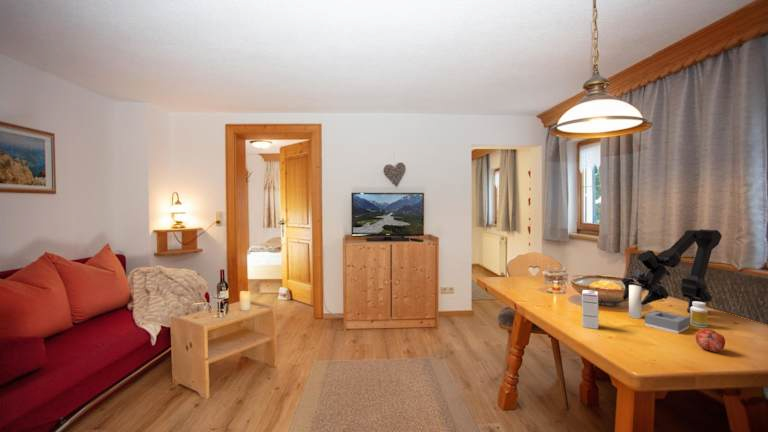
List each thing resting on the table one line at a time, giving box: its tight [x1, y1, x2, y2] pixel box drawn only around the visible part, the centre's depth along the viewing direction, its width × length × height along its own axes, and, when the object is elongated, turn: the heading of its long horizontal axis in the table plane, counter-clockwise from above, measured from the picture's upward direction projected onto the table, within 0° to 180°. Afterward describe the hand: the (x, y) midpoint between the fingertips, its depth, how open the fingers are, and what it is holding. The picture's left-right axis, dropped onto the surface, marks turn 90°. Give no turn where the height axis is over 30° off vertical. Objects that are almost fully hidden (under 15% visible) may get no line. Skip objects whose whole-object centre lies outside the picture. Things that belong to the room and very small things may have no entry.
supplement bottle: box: [689, 301, 709, 329], centre depth 140 cm, size 5×5×10 cm
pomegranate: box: [695, 328, 726, 353], centre depth 117 cm, size 7×7×10 cm
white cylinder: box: [628, 285, 643, 320], centre depth 151 cm, size 5×5×14 cm
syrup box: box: [581, 289, 600, 330], centre depth 140 cm, size 6×6×14 cm
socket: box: [644, 309, 690, 334], centre depth 139 cm, size 11×11×4 cm
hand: (632, 301), depth 151 cm, fingers open, 9 cm apart
